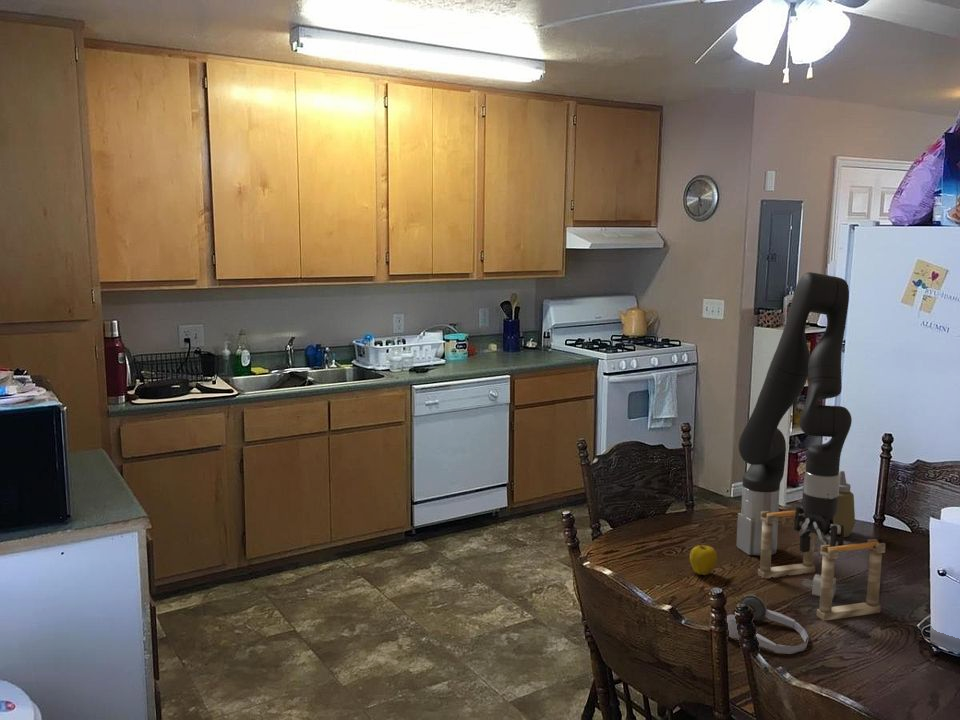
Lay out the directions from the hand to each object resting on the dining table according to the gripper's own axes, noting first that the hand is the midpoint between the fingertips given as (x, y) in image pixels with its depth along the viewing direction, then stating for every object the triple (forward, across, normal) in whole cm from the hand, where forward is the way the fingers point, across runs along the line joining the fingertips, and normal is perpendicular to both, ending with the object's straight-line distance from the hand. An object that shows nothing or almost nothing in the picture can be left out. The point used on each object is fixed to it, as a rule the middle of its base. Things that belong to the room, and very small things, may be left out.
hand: (816, 558), depth 182 cm
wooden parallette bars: (+8, 0, 0) cm, 8 cm away
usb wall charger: (+9, 0, +1) cm, 9 cm away
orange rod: (-7, +11, 0) cm, 13 cm away
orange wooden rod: (-7, -11, 0) cm, 13 cm away
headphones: (+9, +13, -23) cm, 27 cm away
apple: (+9, -16, -20) cm, 27 cm away
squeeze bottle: (+9, -30, +30) cm, 43 cm away
